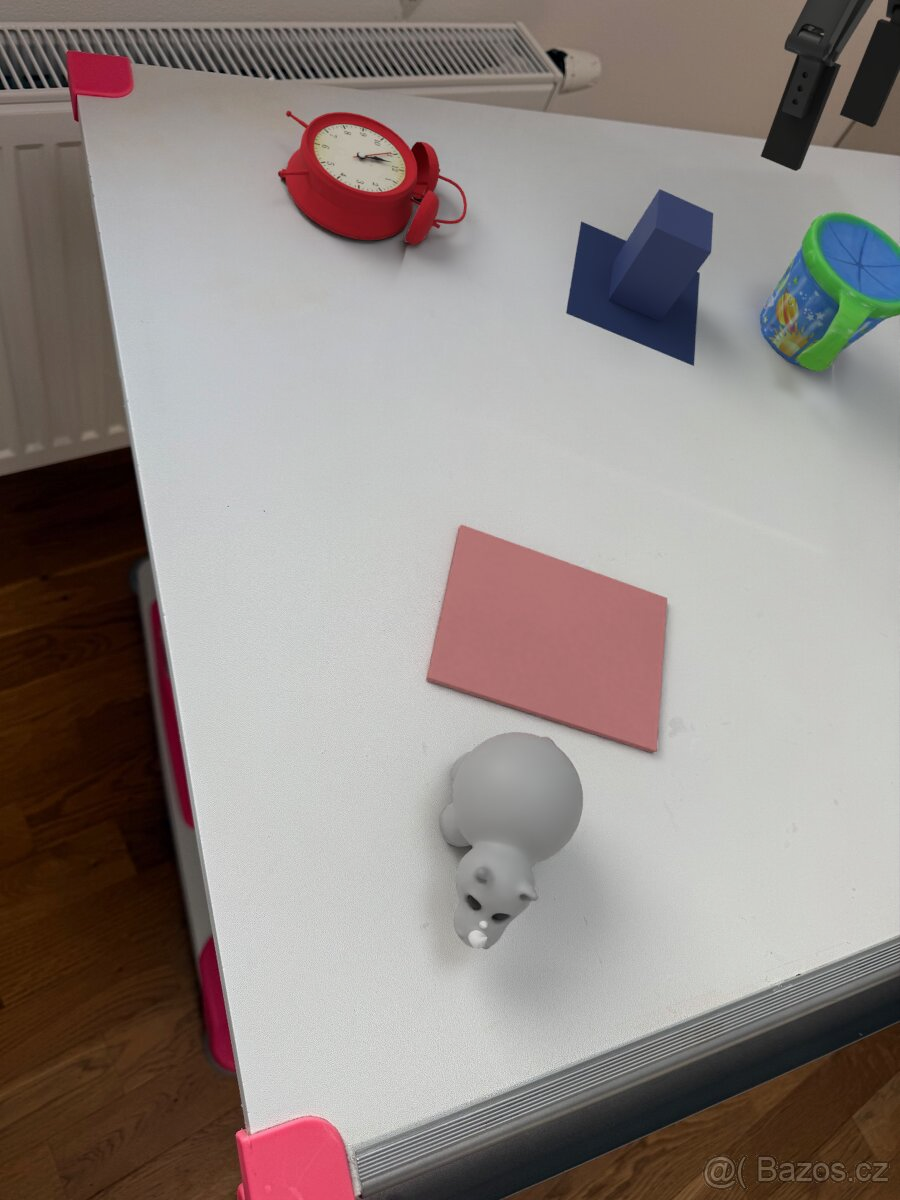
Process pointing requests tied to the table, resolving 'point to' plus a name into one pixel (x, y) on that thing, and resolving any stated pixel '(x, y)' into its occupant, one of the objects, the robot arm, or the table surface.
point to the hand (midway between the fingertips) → (820, 140)
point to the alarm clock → (364, 179)
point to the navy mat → (595, 308)
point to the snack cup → (833, 291)
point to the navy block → (661, 255)
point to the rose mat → (551, 640)
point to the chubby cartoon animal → (507, 827)
